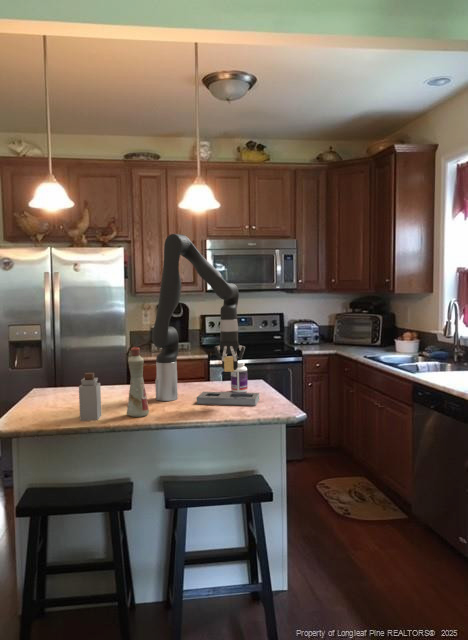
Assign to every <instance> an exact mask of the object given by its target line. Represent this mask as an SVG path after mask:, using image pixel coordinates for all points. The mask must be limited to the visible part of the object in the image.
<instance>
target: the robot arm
mask: <svg viewBox="0 0 468 640" xmlns="http://www.w3.org/2000/svg"><path fill="white" fill-rule="evenodd" d="M163 247H164V248H163V266H162V267H163V268H162V276H161V283H160V288H159V289H160V290H159V297H158V305H157V310H156V316H155V321H154V325H153V330H152V335H151V341H152V344H153V345H154V346H155V348H159V349H161V351H160V352H159V354H157V355H156V358H155V359H156V363H155V365H156V366H155V368H156V378H155V385H154V388H155V400H156V401H161V402H169V401H177V400H178V395H179V394H178V365H177V364H178V363H177V359H178V356H179V340H180V339H179V333H178V331H177V328H175V327H174V326H170V322H171V318H172V316H173V314H174V312H175V310H176V308H177V307H178V305H179V302H180V299H181V294H182V293H181V292H182V279H181V275H180V272H179V265H180V264H179V263H180V257H181V256H182V257H183V258H185V259H186V260H187V261H188V262H190V263H191V265H192V266H193V268H194V269H195V272H196V273H197V275H198V276H199V277H200V278H201V279H202V280H203V281H204V282H205V283H206V284H207V285H208V286H209V287H210V288H211V289H212V291H214V294H215V295H217V297H218V298H220V299H221V300H223V304H222V306H221V307H220V311H219V313H220V325H219V327H220V328H219V331H220V335H219V336H220V343H219V345H216V346H214V347H213V350H214V353H215V355H216V358H217V360H218V361H221V368H222V370H224V357H226V356H227V355H231V356H233V357H234V370H236V369H237V368H238V361H241V360H242V359H243V357H244V352H245V349H246V346H244V345H240V343H239V324H238V310H237V309H238V303H239V298H240V297H239V296H240V295H239V294H240V293H239V292H240V291H239V288H238V286H237V285H236V284H234V283H232V282H230V283H229V282H227V281H226V280H225V279H224V278H223V275H222V273H221V272H220V271H219V270H218V269H216V268H215V266H214V265H212V263H210V262H209V261H208V260H207V259H206V258H205V257H204V255H203V254H202V253H200V251H199V250H198V249H197V247H196V246H195V244H194V243H193V242H192V240H191V239H190V238H189V237H188V236H187V235H185V234H180V233H170V234H169V235H168V236H166V238H165V241H164V246H163ZM238 349H239V351H240V352H239V355H238V354H237V351H238ZM220 350H221V351H222V354H221V352H220Z"/></svg>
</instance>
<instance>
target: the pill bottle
mask: <svg viewBox="0 0 468 640" xmlns="http://www.w3.org/2000/svg"><path fill="white" fill-rule="evenodd" d="M248 386H249V385H248V368H247V366H245V361H241V360H238V368H237V369H236V370H235V371H234V372H230V389H231V390H230V391H232V392H240V393H247V391H248V390H249V388H248Z"/></svg>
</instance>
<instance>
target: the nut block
mask: <svg viewBox="0 0 468 640" xmlns="http://www.w3.org/2000/svg"><path fill="white" fill-rule="evenodd" d="M223 371H224V372H226V373H227V372H228V373H231V372H234V371H235V370H234V357H233V356H232V355H229V356H226V357H224V369H223Z"/></svg>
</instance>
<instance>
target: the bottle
mask: <svg viewBox="0 0 468 640" xmlns="http://www.w3.org/2000/svg"><path fill="white" fill-rule="evenodd" d="M140 349H141V348H140V347H137V346H133V347H131V349H130V351H131V352H130V354H131V356H130V358H129V359H128V361H127V362H128V368H129V373H130V383H129V391H128V392H129V393H128V401H127V402H128V403H127V408H126V415H128V416H129V417H132V418H143V417H146V416H148V415H149V412H150V407H149V404H148V403H149V402H148V397H147V392H146V387H145V386H146V385H145V381H144V376H143V375H144V373H143V372H144V363H145V360H144V358H143V357H142V356H141V351H140Z"/></svg>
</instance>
